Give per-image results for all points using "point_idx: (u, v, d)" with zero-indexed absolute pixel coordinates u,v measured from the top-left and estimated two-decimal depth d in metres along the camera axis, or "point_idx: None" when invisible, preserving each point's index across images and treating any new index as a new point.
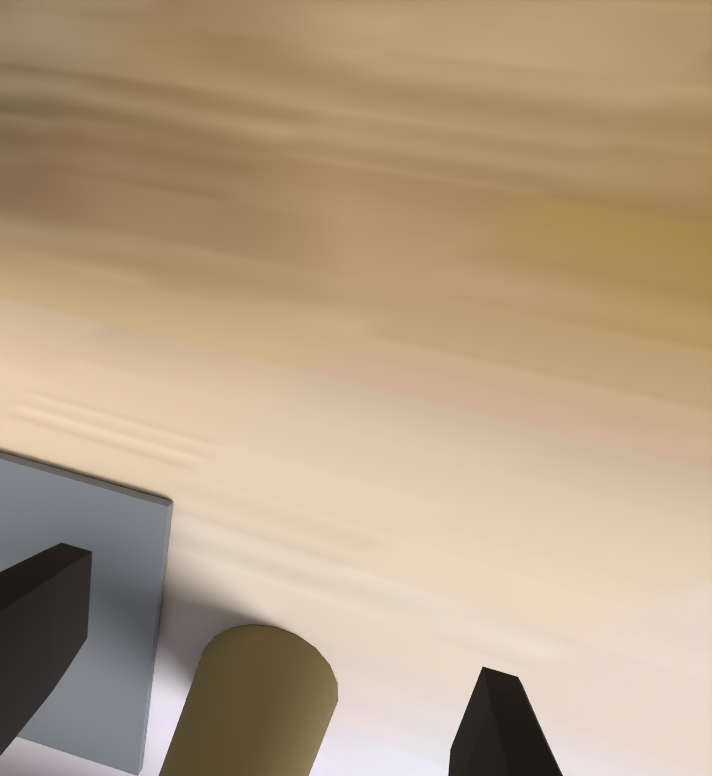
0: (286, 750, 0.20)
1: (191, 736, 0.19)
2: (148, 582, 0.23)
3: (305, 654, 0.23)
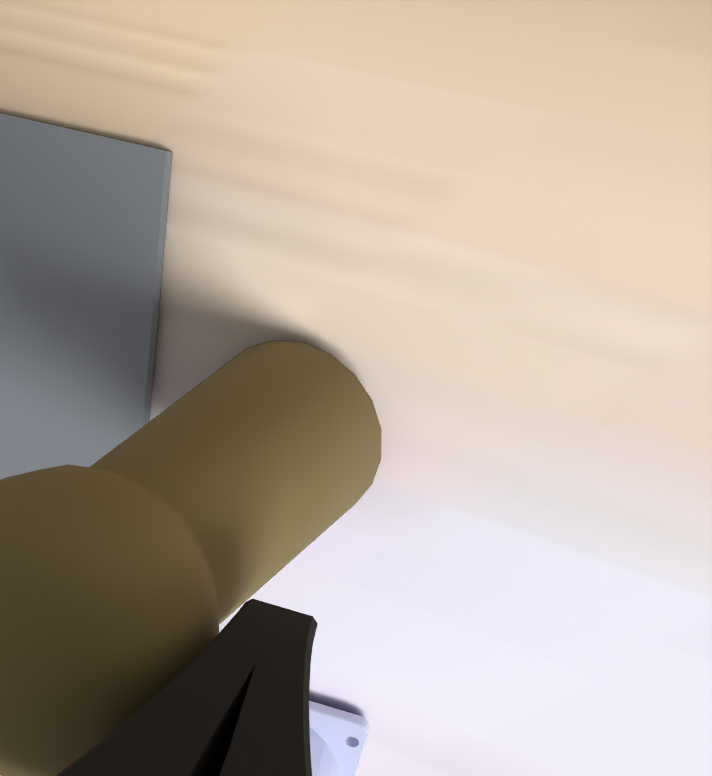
0: (295, 441, 0.14)
1: (167, 408, 0.14)
2: (140, 278, 0.17)
3: (338, 372, 0.17)
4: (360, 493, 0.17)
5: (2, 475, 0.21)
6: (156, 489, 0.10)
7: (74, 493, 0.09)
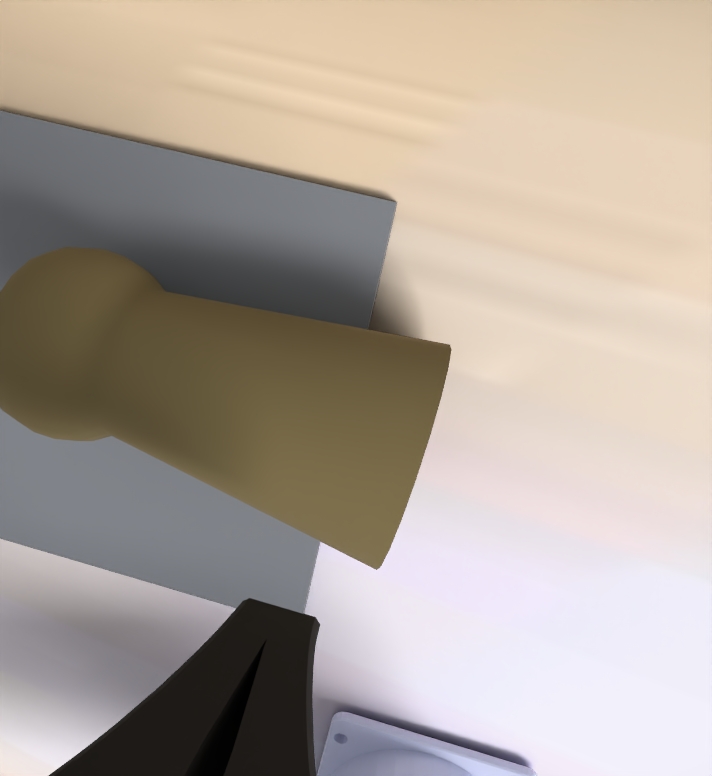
0: (286, 324, 0.14)
1: None
2: None
3: (430, 343, 0.14)
4: (376, 461, 0.12)
5: (173, 522, 0.20)
6: (162, 291, 0.15)
7: None
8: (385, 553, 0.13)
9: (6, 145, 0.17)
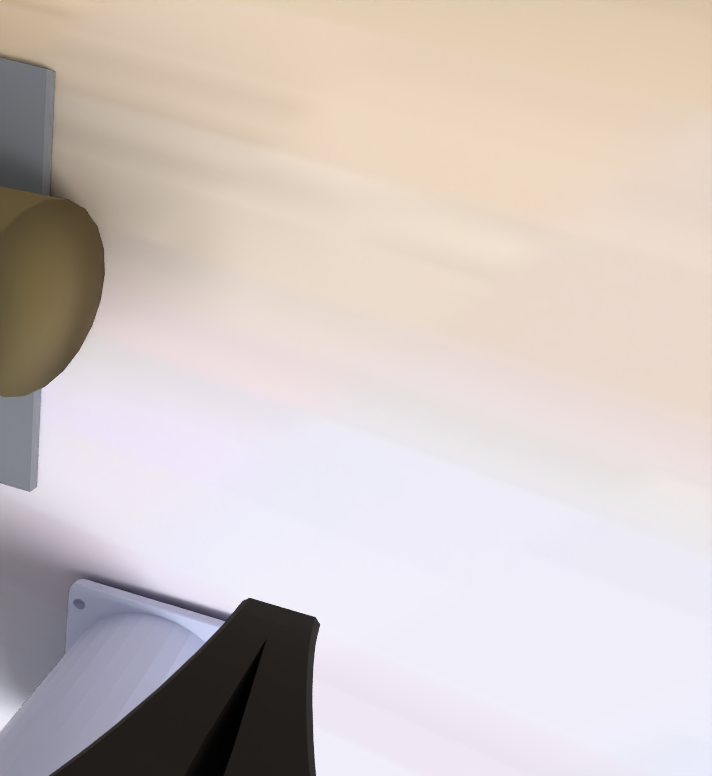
0: None
1: None
2: (28, 191, 0.19)
3: (37, 196, 0.16)
4: None
5: None
6: None
7: None
8: None
9: None
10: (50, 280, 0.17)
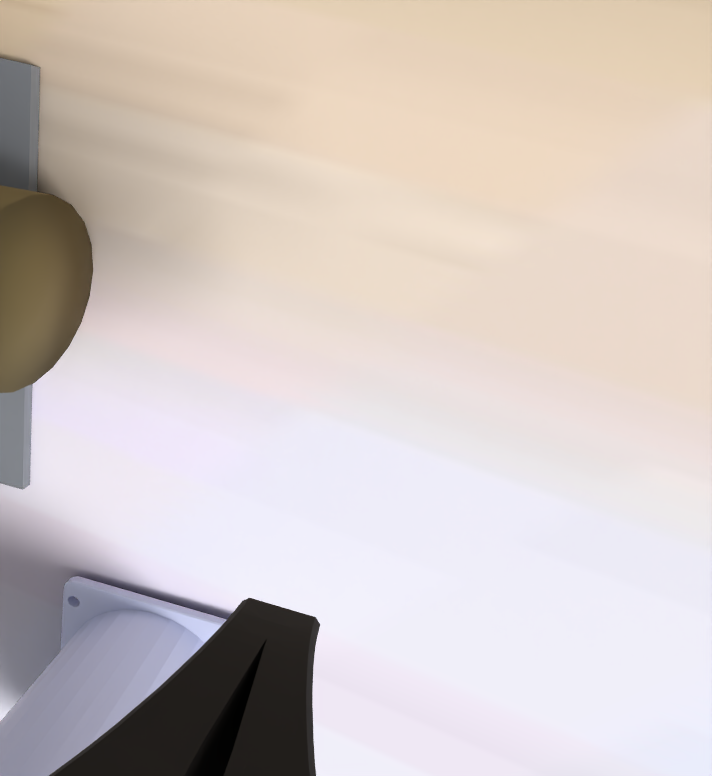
0: None
1: None
2: None
3: (21, 191, 0.16)
4: None
5: None
6: None
7: None
8: None
9: None
10: (36, 275, 0.17)
